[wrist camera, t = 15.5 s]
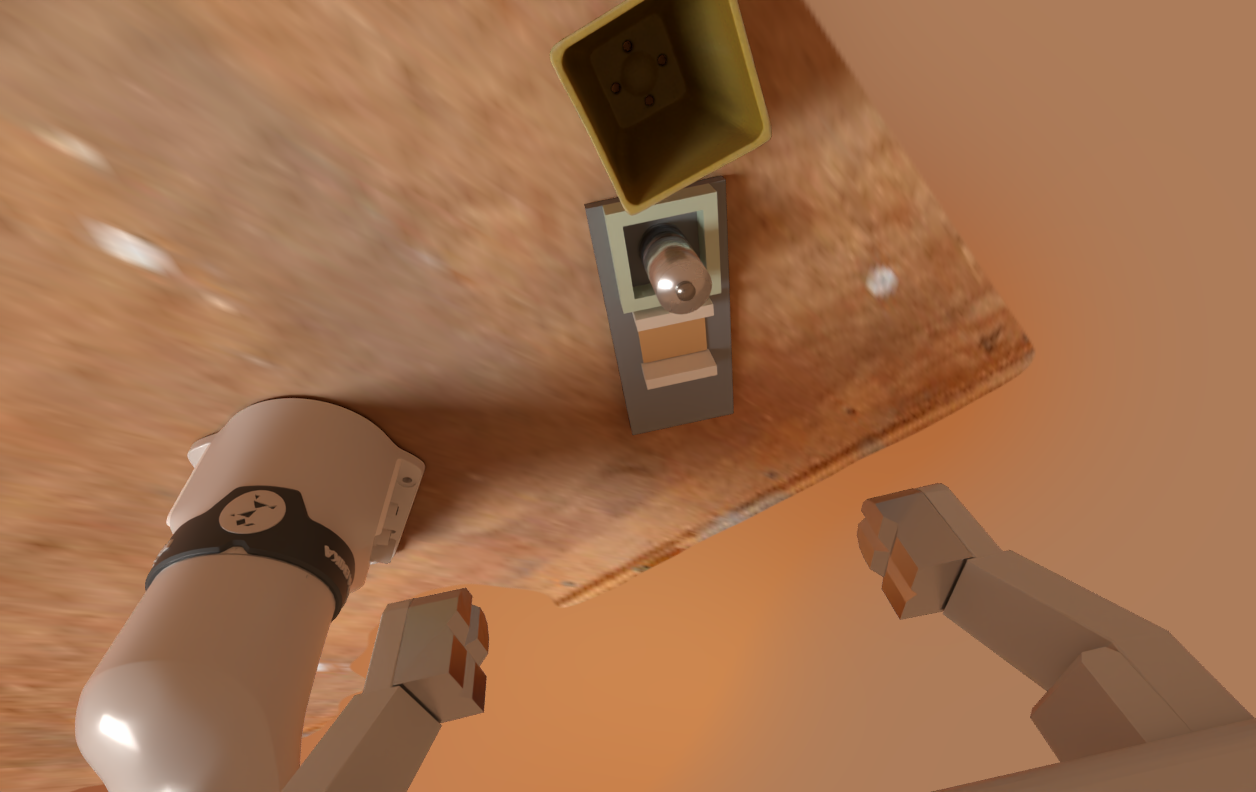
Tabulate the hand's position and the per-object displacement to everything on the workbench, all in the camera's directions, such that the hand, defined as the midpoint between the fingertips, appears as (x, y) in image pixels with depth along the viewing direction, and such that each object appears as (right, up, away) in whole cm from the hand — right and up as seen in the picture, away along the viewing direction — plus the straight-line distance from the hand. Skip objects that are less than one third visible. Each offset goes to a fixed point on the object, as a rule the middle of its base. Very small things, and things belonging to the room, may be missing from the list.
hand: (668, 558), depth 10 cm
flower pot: (0, +24, +22) cm, 32 cm away
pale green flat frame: (+2, +15, +28) cm, 32 cm away
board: (+3, +10, +33) cm, 34 cm away
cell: (+2, +14, +28) cm, 31 cm away
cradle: (+3, +9, +33) cm, 35 cm away
